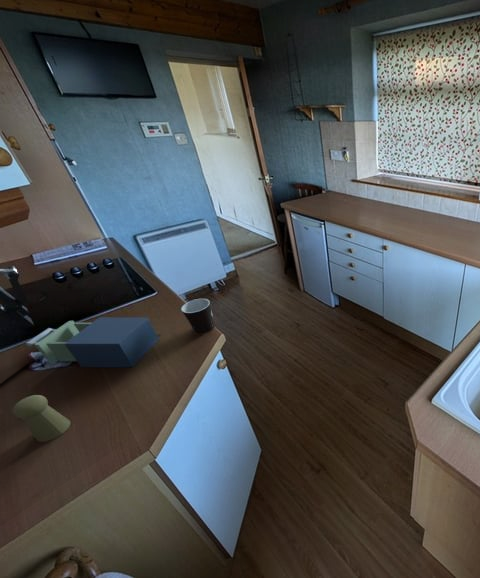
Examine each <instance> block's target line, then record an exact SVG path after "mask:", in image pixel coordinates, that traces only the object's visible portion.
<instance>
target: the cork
mask: <svg viewBox="0 0 480 578" xmlns="http://www.w3.org/2000/svg"><path fill="white" fill-rule="evenodd" d="M12 414H13V416H15V417H16V418H18V419H23V421H24V422H25V424H26V425H27V427H28V429H29V430H30V432H31V434H33V436H34V438H35V440H36V441H37V442H39V443H45V442H50V441H53V440H54V439H56V438H58V437H60V436H61V435H63V434H64V433H65V432H66V431H67V430H68V429H69V428H70V425H71V420H69V419H68V418H67V417H65V416H64V415H63V414H61V413H60V412H58V411H57V410H56V409H54V408H53V407H51V406H50V405H49V402H48V399H47V398H46V397H45V396H43V395H42V394H41V395H40V394H32V395H30V396H27V397H24V398H23V399H21V400H19V401H18V402H16V403H15V404H14V406H13V407H12Z"/></svg>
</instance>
